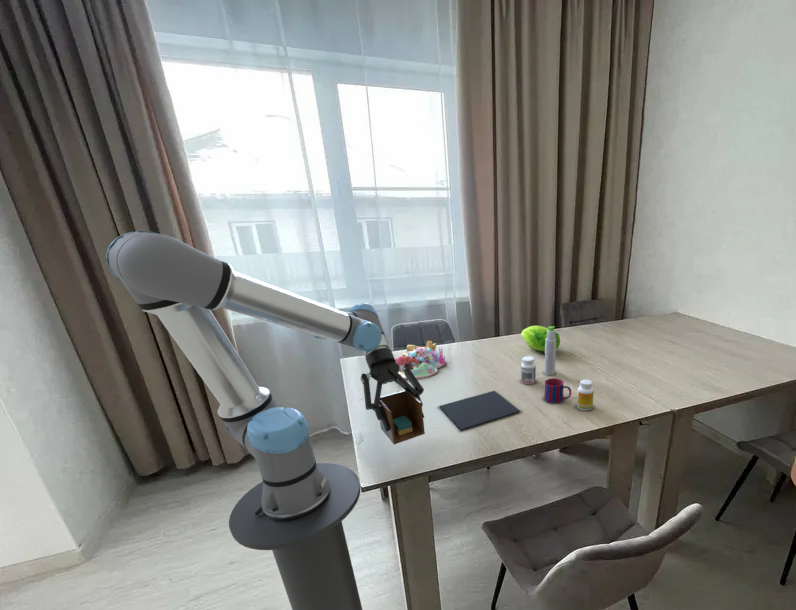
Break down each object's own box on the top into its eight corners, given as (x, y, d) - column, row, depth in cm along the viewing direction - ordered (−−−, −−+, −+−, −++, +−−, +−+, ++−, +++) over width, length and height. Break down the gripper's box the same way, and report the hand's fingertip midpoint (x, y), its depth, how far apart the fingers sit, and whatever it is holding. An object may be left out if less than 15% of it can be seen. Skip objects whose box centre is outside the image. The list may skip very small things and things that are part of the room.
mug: (551, 393, 149) (551, 376, 146) (574, 401, 143) (575, 383, 140) (540, 399, 144) (541, 382, 141) (564, 408, 138) (565, 390, 135)
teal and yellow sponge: (391, 423, 113) (391, 419, 113) (405, 419, 115) (404, 415, 115) (398, 431, 109) (397, 427, 109) (412, 426, 112) (411, 422, 111)
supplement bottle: (594, 410, 136) (596, 384, 132) (578, 411, 136) (580, 385, 132) (590, 403, 141) (592, 378, 137) (575, 403, 141) (576, 378, 137)
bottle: (556, 374, 164) (558, 328, 156) (546, 375, 163) (548, 329, 155) (552, 370, 168) (554, 324, 160) (542, 371, 167) (543, 326, 159)
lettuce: (533, 341, 202) (533, 319, 197) (567, 353, 186) (568, 329, 181) (514, 347, 194) (514, 324, 190) (547, 360, 178) (548, 335, 174)
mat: (461, 430, 125) (460, 429, 125) (439, 407, 139) (439, 405, 139) (519, 412, 136) (519, 410, 135) (494, 392, 150) (494, 390, 150)
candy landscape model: (389, 360, 180) (386, 340, 177) (441, 353, 187) (439, 335, 183) (391, 382, 159) (388, 360, 155) (450, 374, 165) (449, 353, 162)
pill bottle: (528, 377, 162) (528, 354, 158) (538, 381, 158) (538, 358, 154) (518, 381, 158) (518, 358, 154) (528, 385, 154) (528, 362, 151)
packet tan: (392, 428, 114) (391, 423, 113) (405, 423, 116) (405, 419, 115) (399, 435, 110) (398, 431, 109) (412, 431, 112) (412, 426, 112)
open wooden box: (381, 428, 114) (376, 398, 111) (410, 419, 119) (407, 389, 115) (393, 444, 107) (389, 412, 103) (424, 433, 112) (421, 402, 108)
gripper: (410, 351, 124) (437, 416, 118) (337, 367, 112) (364, 441, 106) (416, 339, 118) (444, 407, 112) (339, 355, 106) (367, 432, 100)
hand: (405, 423), depth 109 cm, fingers closed on open wooden box, 9 cm apart
